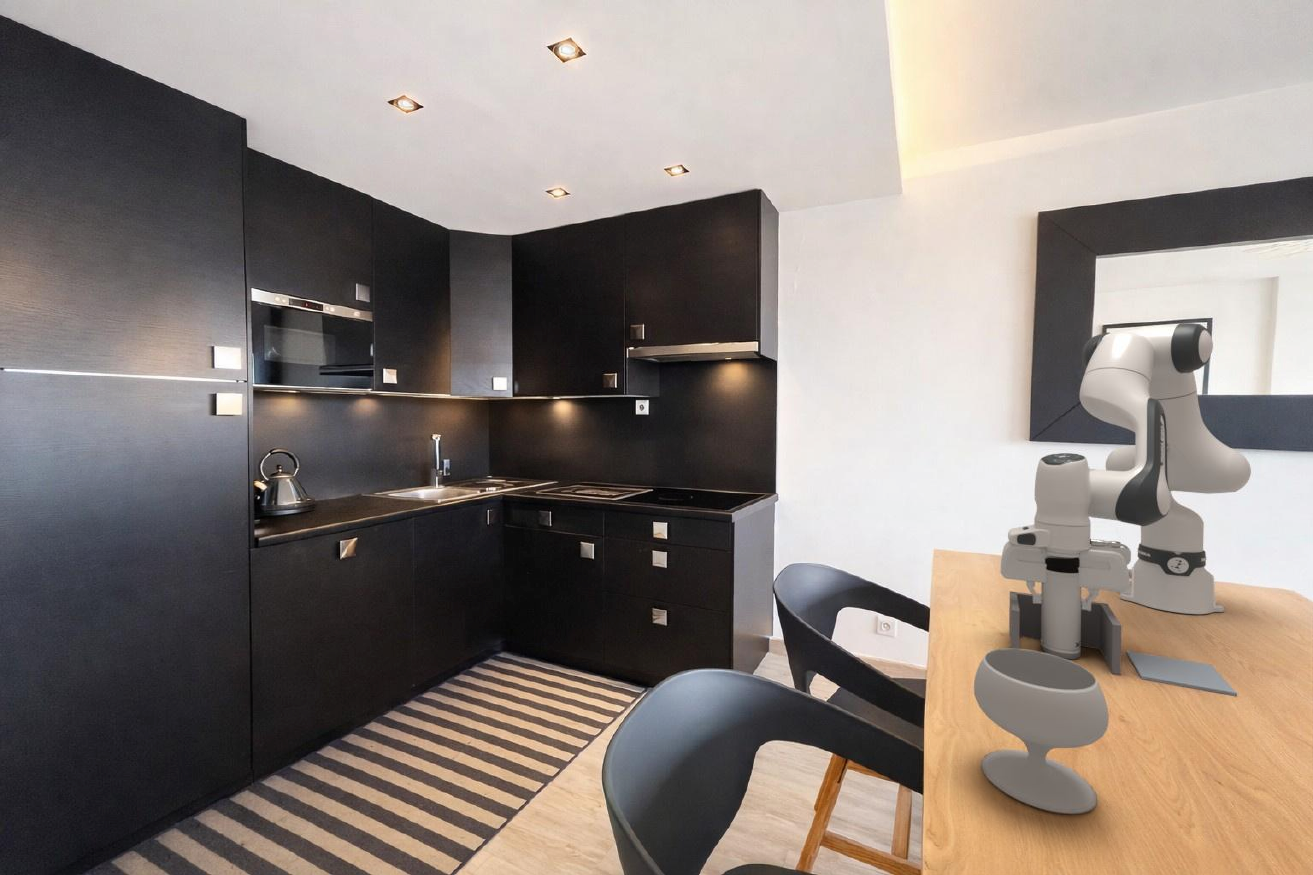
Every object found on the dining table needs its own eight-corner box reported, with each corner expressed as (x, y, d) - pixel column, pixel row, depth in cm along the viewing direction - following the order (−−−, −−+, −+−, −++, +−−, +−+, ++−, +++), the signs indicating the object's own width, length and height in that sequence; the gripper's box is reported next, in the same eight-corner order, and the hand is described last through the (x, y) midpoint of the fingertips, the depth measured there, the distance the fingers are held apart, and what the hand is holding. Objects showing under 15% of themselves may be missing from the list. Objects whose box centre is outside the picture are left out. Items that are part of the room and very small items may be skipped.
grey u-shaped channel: (1009, 632, 117) (1009, 591, 117) (1106, 648, 109) (1107, 603, 108) (1011, 655, 106) (1012, 610, 105) (1120, 675, 97) (1121, 625, 97)
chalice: (949, 765, 73) (950, 655, 72) (1016, 739, 79) (1017, 637, 78) (1062, 838, 60) (1064, 706, 60) (1132, 801, 66) (1134, 679, 65)
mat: (1126, 653, 106) (1126, 650, 106) (1211, 667, 100) (1211, 664, 100) (1141, 678, 96) (1141, 676, 96) (1236, 696, 90) (1236, 693, 90)
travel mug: (1089, 660, 103) (1090, 556, 102) (1050, 658, 104) (1051, 555, 104) (1071, 647, 109) (1072, 548, 108) (1035, 645, 110) (1035, 547, 110)
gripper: (1127, 539, 103) (1126, 610, 104) (1000, 529, 114) (999, 593, 114) (1135, 546, 98) (1133, 621, 98) (1001, 534, 108) (1000, 602, 109)
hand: (1060, 606), depth 106 cm, fingers closed on travel mug, 6 cm apart
